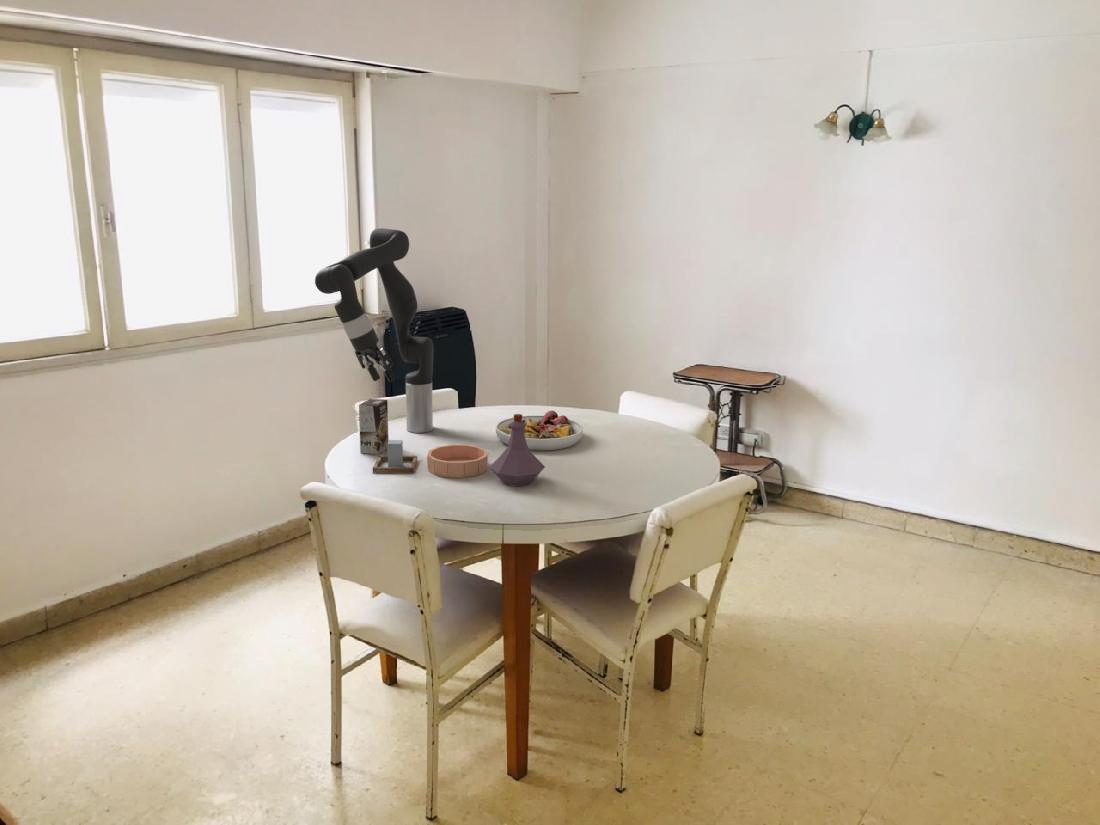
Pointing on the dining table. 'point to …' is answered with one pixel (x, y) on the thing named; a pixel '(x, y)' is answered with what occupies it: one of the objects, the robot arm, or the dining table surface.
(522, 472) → the flask
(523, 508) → the dining table surface
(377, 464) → the tray frame
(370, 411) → the coffee box
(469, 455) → the bowl
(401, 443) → the block
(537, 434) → the bowl
